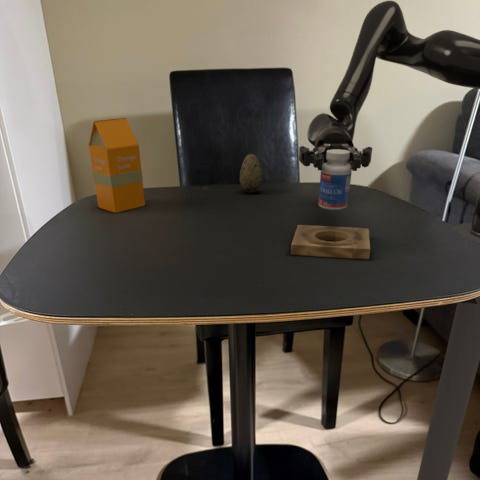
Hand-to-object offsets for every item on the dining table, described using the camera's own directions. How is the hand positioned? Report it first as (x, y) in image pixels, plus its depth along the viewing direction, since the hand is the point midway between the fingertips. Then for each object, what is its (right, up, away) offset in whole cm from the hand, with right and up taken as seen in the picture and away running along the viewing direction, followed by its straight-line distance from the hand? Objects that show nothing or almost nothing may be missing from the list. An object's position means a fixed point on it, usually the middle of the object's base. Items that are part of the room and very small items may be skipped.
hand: (337, 164), depth 82 cm
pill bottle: (0, -6, +6) cm, 9 cm away
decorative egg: (-14, +8, +47) cm, 50 cm away
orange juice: (-46, +1, +37) cm, 59 cm away
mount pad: (+1, -13, +10) cm, 16 cm away
